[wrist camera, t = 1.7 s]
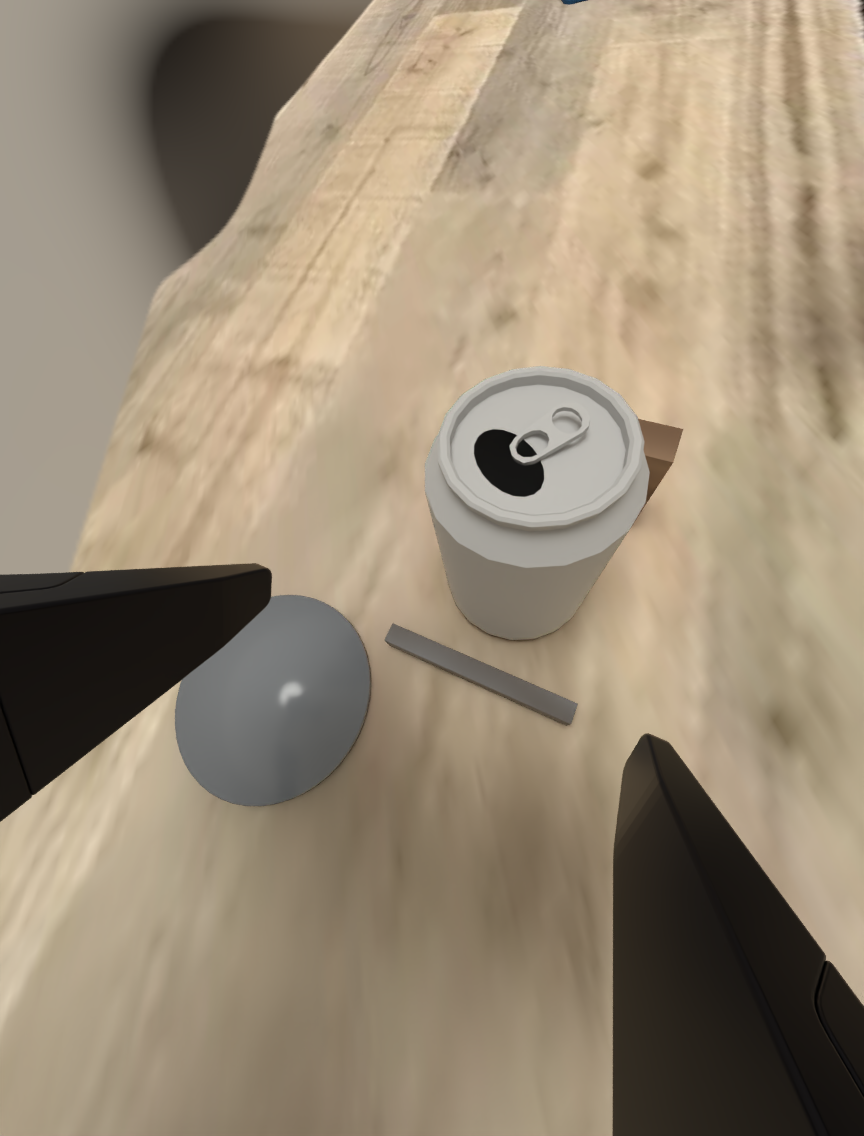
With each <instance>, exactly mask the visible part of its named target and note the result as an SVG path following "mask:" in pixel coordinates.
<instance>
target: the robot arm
mask: <svg viewBox="0 0 864 1136" xmlns="http://www.w3.org/2000/svg"><path fill="white" fill-rule="evenodd" d="M271 583H272V573H271V571H270V570H269V569H268V568H266V567H264V566H261V565H259V564H256V563H252V564H232V565H212V566H191V567H171V568H151V569H131V570H110V571H90V572H85V573H84V572H69V573H47V574H17V575H15V574H13V575H0V822H1V821H2V820H3V819H5V818H6V817H7V816H8V815H10V814H11V813H12V812H14V811H15V810H16V809H17V808H19V807H20V806H21V805H23V804H24V803H25V802H26V801H28V800H29V799H30V798H31V797H32V795H35V794H36V793H37V792H39V791H40V790H41V789H42V788H44V787H45V786H46V785H48V784H49V783H50V782H51V781H53V780H54V779H55V778H57V777H58V776H59V775H60V774H62V773H63V772H64V771H66V770H67V769H68V768H69V767H71V766H72V765H73V764H75V763H76V762H77V761H78V760H80V759H81V758H82V757H83V756H85V755H86V754H87V753H89V752H90V751H91V750H92V749H94V748H95V747H96V746H98V745H99V744H100V743H101V742H103V741H104V740H105V739H107V738H108V737H109V736H110V735H112V734H113V733H114V732H115V731H117V730H118V729H119V728H121V727H122V726H123V725H124V724H126V723H127V722H128V721H130V720H131V719H132V718H133V717H135V716H136V715H137V714H139V713H140V712H141V711H142V710H144V709H145V708H146V707H147V706H149V705H150V704H151V703H153V702H154V701H155V700H156V699H158V698H159V697H160V696H162V695H163V694H164V693H165V692H167V691H168V690H169V689H171V688H172V687H173V686H174V685H176V684H177V683H178V682H180V681H181V680H182V679H183V678H185V677H186V676H187V675H188V674H190V673H191V672H192V671H194V670H195V669H196V668H197V667H199V666H200V665H201V664H203V663H204V662H205V661H206V660H208V659H209V658H210V657H212V656H213V655H214V654H215V653H217V652H218V651H219V650H220V649H221V648H223V647H224V646H225V645H226V644H227V643H228V642H229V641H231V640H232V639H233V638H234V637H235V636H236V635H237V634H238V633H239V632H240V631H241V630H242V629H243V628H244V627H245V626H246V625H248V624H249V623H250V622H251V621H252V620H253V619H254V618H255V617H256V616H257V615H258V614H259V613H260V612H261V611H262V610H263V609H265V608H266V606H267V605H268V604H269V602H270V599H271ZM825 960H826V955H825V953H824V952H823V951H822V949H821V948H820V946H819V945H818V944H817V942H816V941H815V940H814V938H813V937H812V936H811V934H810V933H809V932H808V930H807V929H806V927H805V926H804V925H803V923H802V922H801V921H800V919H799V918H798V917H797V915H796V914H795V913H794V911H793V910H792V908H791V907H790V906H789V904H788V903H787V902H786V900H785V899H784V898H783V896H782V895H781V894H780V892H779V891H778V889H777V888H776V887H775V885H774V884H773V883H772V881H771V880H770V879H769V877H768V876H767V875H766V873H765V872H764V870H763V869H762V868H761V866H760V865H759V864H758V862H757V861H756V860H755V858H754V857H753V856H752V854H751V853H750V851H749V850H748V849H747V847H746V846H745V845H744V843H743V842H742V841H741V839H740V838H739V837H738V835H737V834H736V832H735V831H734V830H733V828H732V827H731V826H730V824H729V823H728V822H727V820H726V819H725V818H724V816H723V815H722V813H721V812H720V811H719V809H718V808H717V807H716V805H715V804H714V803H713V801H712V800H711V798H710V797H709V796H708V794H707V793H706V792H705V790H704V789H703V788H702V786H701V785H700V784H699V782H698V781H697V779H696V778H695V777H694V775H693V774H692V773H691V771H690V770H689V769H688V767H687V766H686V765H685V763H684V762H683V760H682V759H681V758H680V756H679V755H678V754H677V752H676V751H675V750H674V748H673V747H672V746H671V744H670V743H669V742H667V741H665V740H663V739H661V738H658V737H656V736H654V735H651V734H649V733H647V734H644V735H643V736H642V737H641V738H640V740H639V741H638V743H637V745H636V746H635V748H634V750H633V751H632V753H631V755H630V756H629V758H628V760H627V762H626V764H625V767H624V770H623V776H622V784H621V792H620V800H619V808H618V817H617V825H616V833H615V842H614V856H613V1136H864V1006H863V1004H862V1003H861V1002H860V1000H859V999H858V998H857V996H856V995H855V994H854V992H853V991H852V990H851V988H850V987H849V986H848V984H847V983H846V981H845V980H844V979H843V977H842V976H841V975H840V973H839V972H838V971H837V969H836V968H835V967H834V965H833V964H832V963H831V962H829V961H825Z"/></svg>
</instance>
